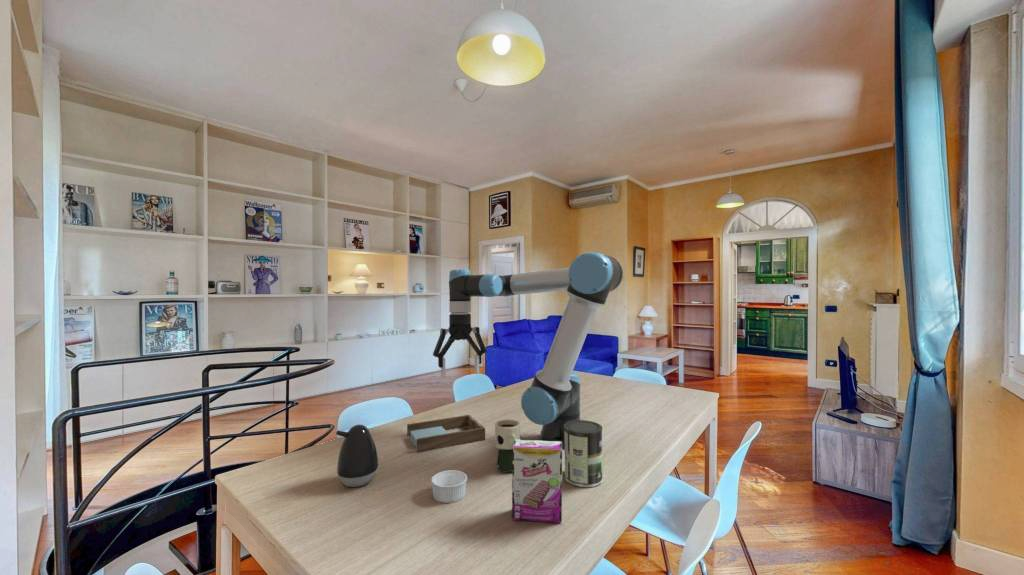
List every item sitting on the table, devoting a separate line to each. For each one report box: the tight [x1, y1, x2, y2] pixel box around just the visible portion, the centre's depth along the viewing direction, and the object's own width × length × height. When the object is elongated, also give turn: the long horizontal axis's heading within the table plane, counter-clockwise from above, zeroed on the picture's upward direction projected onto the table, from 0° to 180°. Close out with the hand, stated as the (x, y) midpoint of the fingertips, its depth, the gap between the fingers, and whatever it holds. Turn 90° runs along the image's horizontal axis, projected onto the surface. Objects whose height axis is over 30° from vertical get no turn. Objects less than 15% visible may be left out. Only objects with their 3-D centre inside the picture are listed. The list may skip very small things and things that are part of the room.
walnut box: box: [406, 414, 486, 453], centre depth 135 cm, size 16×23×4 cm
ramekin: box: [430, 469, 468, 504], centre depth 97 cm, size 9×9×4 cm
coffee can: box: [564, 419, 604, 488], centre depth 105 cm, size 10×10×14 cm
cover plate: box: [409, 426, 449, 449], centre depth 132 cm, size 10×11×3 cm
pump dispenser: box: [335, 424, 379, 488], centre depth 104 cm, size 10×10×15 cm
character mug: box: [494, 419, 521, 473], centre depth 111 cm, size 11×7×13 cm, turn 22°
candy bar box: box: [511, 439, 563, 524], centre depth 88 cm, size 11×5×16 cm, turn 84°
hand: (460, 375), depth 137 cm, fingers open, 12 cm apart
